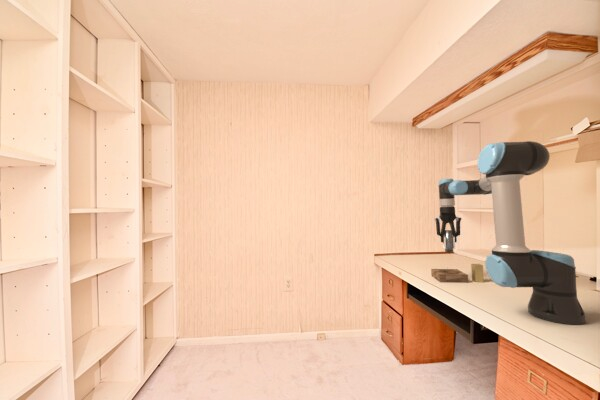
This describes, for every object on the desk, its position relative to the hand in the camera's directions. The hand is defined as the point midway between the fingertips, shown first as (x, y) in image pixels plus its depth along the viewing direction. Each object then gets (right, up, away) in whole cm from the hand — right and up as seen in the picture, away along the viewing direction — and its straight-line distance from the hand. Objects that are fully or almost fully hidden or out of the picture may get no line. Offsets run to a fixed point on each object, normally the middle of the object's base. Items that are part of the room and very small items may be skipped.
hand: (448, 248), depth 148 cm
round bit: (0, -2, 0) cm, 2 cm away
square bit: (+12, -17, -6) cm, 22 cm away
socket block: (0, -17, 0) cm, 17 cm away
